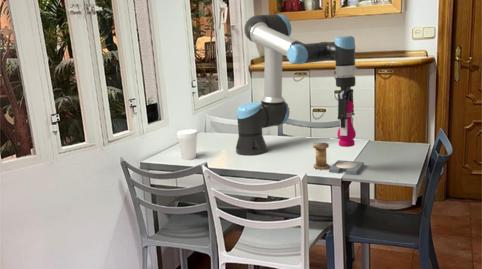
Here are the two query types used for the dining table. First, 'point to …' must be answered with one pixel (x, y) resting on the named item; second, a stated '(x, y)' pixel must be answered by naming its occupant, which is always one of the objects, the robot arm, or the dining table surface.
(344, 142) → the pepper mill
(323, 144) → the bobbin
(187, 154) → the foam cup
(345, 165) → the notched board
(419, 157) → the dining table surface
